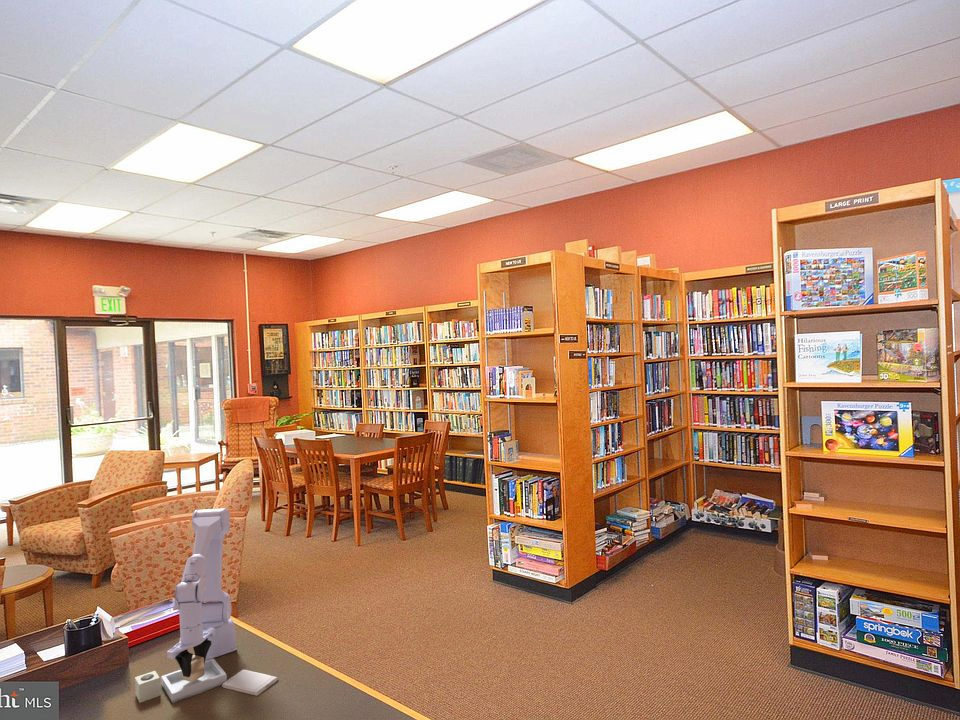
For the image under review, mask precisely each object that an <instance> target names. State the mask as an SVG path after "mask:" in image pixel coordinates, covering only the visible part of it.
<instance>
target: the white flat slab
mask: <svg viewBox="0 0 960 720" xmlns="http://www.w3.org/2000/svg"><path fill="white" fill-rule="evenodd" d="M277 681H279V677H278V676H273V675H270V674H267V673H262V672H256V671H252V670H249V669H241V670H240V671H238V672H237V673H236V674H234V675H233V676H231V677H229V679H227V681H226V682H224V683H223V684H222V685H221V687H222V688H224V689H228V690H232V691H237V692H239V693H245V694H249V695H253V696H259V695H261V693H263V692H264V691H265V690H267V689H268V688H269V687H271V686H272V685H273V684H275V683H277Z"/></svg>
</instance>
